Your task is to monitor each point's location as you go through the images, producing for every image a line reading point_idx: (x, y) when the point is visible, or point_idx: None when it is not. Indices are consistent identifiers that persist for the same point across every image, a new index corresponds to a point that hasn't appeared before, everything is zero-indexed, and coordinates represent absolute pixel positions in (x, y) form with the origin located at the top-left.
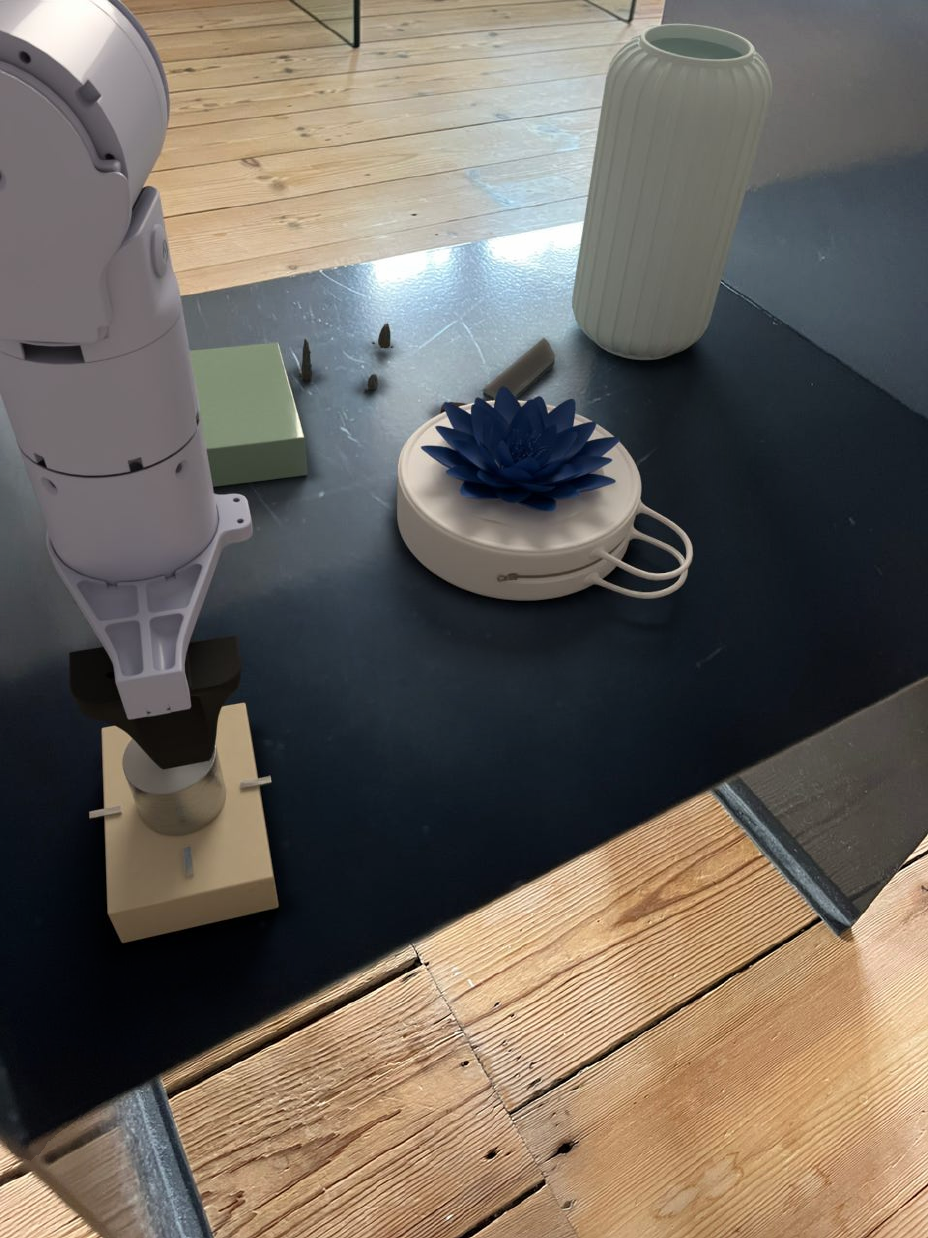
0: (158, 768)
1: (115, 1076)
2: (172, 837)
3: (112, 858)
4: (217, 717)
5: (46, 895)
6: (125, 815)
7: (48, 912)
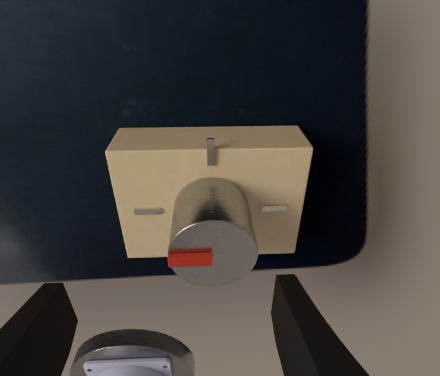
0: (227, 264)
1: (362, 224)
2: None
3: None
4: (365, 371)
5: None
6: None
7: None
